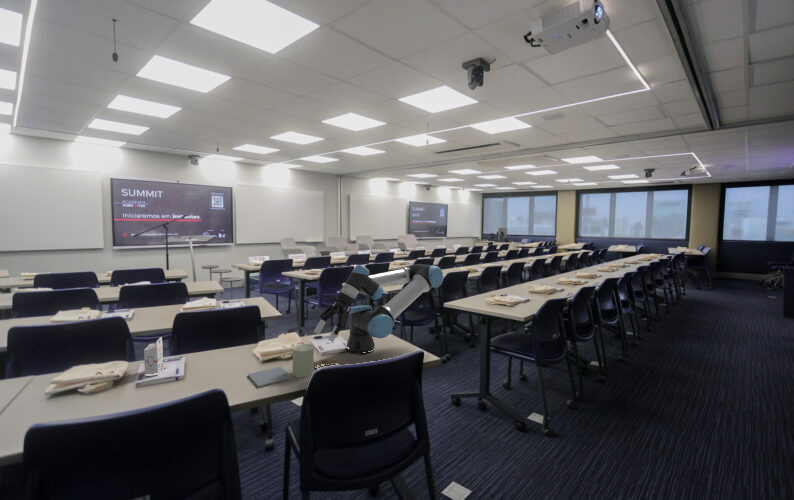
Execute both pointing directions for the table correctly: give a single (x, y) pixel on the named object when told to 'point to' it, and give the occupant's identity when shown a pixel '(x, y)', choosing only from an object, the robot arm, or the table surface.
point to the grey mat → (269, 377)
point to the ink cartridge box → (154, 357)
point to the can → (303, 360)
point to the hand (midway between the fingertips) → (322, 336)
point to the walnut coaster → (325, 362)
